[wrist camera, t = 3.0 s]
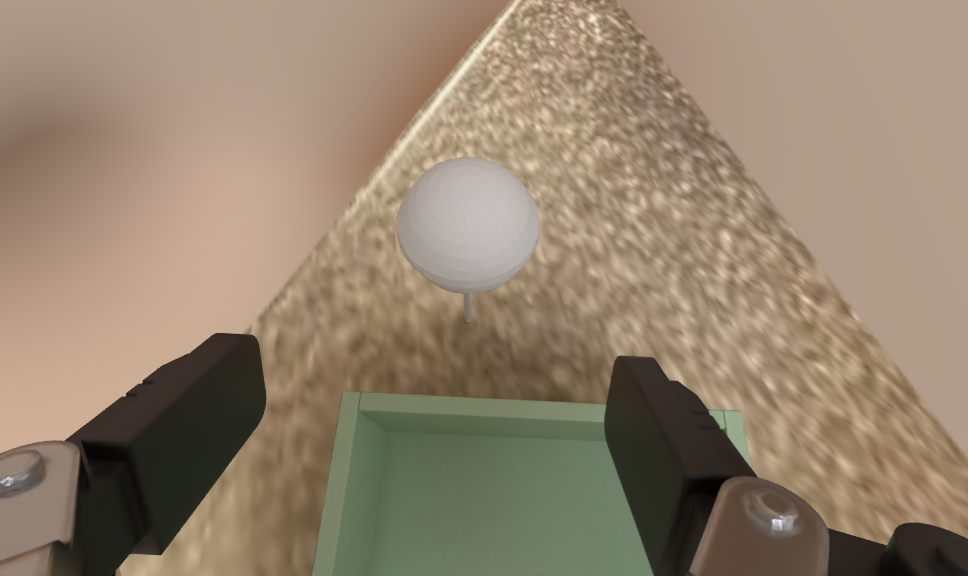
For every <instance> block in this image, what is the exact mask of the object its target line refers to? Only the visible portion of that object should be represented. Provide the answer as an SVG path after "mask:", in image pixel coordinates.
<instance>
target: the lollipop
mask: <svg viewBox="0 0 968 576" xmlns="http://www.w3.org/2000/svg"><path fill="white" fill-rule="evenodd" d="M539 224H540V221H539V213H538V209H537V207H536V204H535V201H534V199H533V198H532V196H531V195H530V193H529V192H528V190H527V189H526V188H525V187H524V186H523V184H522V183H521V182H520V181H519V180H518V179H517V178H516V177H515V176H514V175H513V174H512V173H511V172H510V171H509V170H507V169H506V168H504V167H503V166H501V165H499V164H497V163H495V162H492V161H489V160H486V159H482V158H475V157H460V158H455V159H450V160H447V161H444V162H441V163H439V164H437V165H435V166H433V167H432V168H430V169H429V170H427V171H426V172H425V173H424V174H423V175H421V177H420V178H419V179H418V180H417V181H416V182H415V184H414V185H413V186H412V188H411V189H410V190H409V192H408V193H407V194H406V196H405V198H404V199H403V201H402V203H401V205H400V208H399V212H398V216H397V236H398V240H399V244H400V248H401V250H402V252H403V254H404V256H405V258H406V259H407V260H408V262H409V263H410V264H411V265H412V266H413V268H414V269H416V270H417V271H418V272H419V273H420V274H421V275H423V276H424V277H425V278H426V279H427V280H429V281H430V282H431V283H433V284H435V285H437V286H438V287H440V288H442V289H445V290H448V291H451V292H455V293H462V294H464V308H465V322H466V323H470V322H471V315H472V294H476V293H482V292H486V291H490V290H492V289H495V288H497V287H499V286H501V285H502V284H504V283H505V282H507V281H508V280H510V279H511V278H512V277H514V276H515V275H516V274H517V273H518V271H519V270H520V269H521V268H522V267H523V266H524V265H525V264H526V263H527V262H528V260H529V258H530V257H531V255H532V254H533V252H534V250H535V247H536V244H537V242H538V234H539Z"/></svg>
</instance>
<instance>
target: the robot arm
mask: <svg viewBox="0 0 968 576" xmlns="http://www.w3.org/2000/svg"><path fill="white" fill-rule="evenodd" d="M265 406H266V390H265V383H264V376H263V369H262V362H261V355H260V348H259V343H258V340H257V338H256V337H255V336H253V335H247V334H228V333H216V334H214V335H212V336H211V337H210V338H208V339H207V340H206V341H204V342H203V343H202V344H201V345H200V346H198V347H197V348H196V349H194V350H193V351H192V352H191V353H189V354H186V355H184V356H182V357H180V358H178V359H175V360H173V361H171V362H169V363H167V364H165V365H163V366H161V367H160V368H158V369H157V370H156V371H154V372H153V373H152V374H151V375H149V376H148V377H147V378H145V379H144V380H143V383H142V384H138V385H136V386H135V387H134V388H132V389H131V390H130V391H128V392H127V393H126V396H125V397H121V398H119V399H118V400H117V401H115V402H114V403H113V404H112V405H110V406H109V407H108V408H106V409H105V410H104V411H102V412H101V413H100V414H99V415H97V416H96V417H95V418H93V419H92V420H91V421H89V423H87V424H86V425H84V426H83V427H82V428H80V429H79V430H78V431H76V432H75V433H74V434H73V435H71V436H70V437H69V438H67V439H66V440H65V441H54V440H53V441H43V442H37V443H32V444H28V445H23V446H20V447H17V448H13V449H11V450H8V451H6V452H3V453H0V576H122V575H121V572H120V570H119V566H120V565H121V564H122V563H123V562H124V560H125V559H126V558H127V557H128V555H129V554H148V555H162V553H163V552H164V551H165V549H166V548H167V547H168V545H169V544H170V543H171V541H172V540H173V539H174V537H175V536H176V535H177V533H178V532H179V531H180V529H181V528H182V527H183V525H184V524H185V523H186V521H187V520H188V519H189V517H190V516H191V515H192V513H193V512H194V510H195V509H196V508H197V506H198V505H199V504H200V502H201V501H202V500H203V498H204V497H205V496H206V494H207V493H208V492H209V490H210V489H211V488H212V486H213V485H214V484H215V482H216V481H217V480H218V478H219V477H220V476H221V474H222V473H223V471H224V470H225V469H226V467H227V466H228V465H229V463H230V462H231V461H232V459H233V458H234V457H235V455H236V454H237V453H238V451H239V450H240V449H241V447H242V446H243V445H244V443H245V442H246V441H247V439H248V438H249V437H250V435H251V434H252V432H253V431H254V430H255V428H256V427H257V426H258V424H259V423H260V421H261V419H262V417H263V414H264V411H265ZM604 432H605V439H606V443H607V446H608V448H609V451H610V454H611V457H612V460H613V463H614V465H615V468H616V471H617V474H618V477H619V479H620V482H621V485H622V488H623V491H624V493H625V496H626V499H627V502H628V505H629V507H630V510H631V513H632V516H633V519H634V521H635V524H636V527H637V530H638V533H639V536H640V538H641V541H642V544H643V547H644V550H645V552H646V555H647V558H648V561H649V564H650V566H651V569H652V572H653V575H654V576H968V539H967V538H965V537H963V536H961V535H958V534H956V533H953V532H951V531H949V530H946V529H943V528H940V527H936V526H933V525H929V524H923V523H905V524H902V525H900V526H898V527H897V528H896V529H895V531H894V533H893V535H892V537H891V539H890V541H889V543H888V545H884V544H880V543H877V542H873V541H870V540H866V539H863V538H860V537H856V536H853V535H849V534H846V533H842V532H839V531H836V530H832V529H829V528H827V526H826V524H825V523H824V521H823V519H822V518H821V517H820V515H819V514H818V513H817V512H816V511H815V510H814V509H813V508H812V507H811V506H810V505H809V504H808V503H807V502H806V501H805V500H803V499H802V498H800V497H799V496H798V495H796V494H795V493H793V492H791V491H790V490H788V489H786V488H784V487H782V486H780V485H778V484H775V483H773V482H770V481H767V480H764V479H761V478H758V477H757V475H756V474H755V473H754V471H753V470H752V469H751V467H750V466H749V465H748V463H747V462H746V461H745V459H744V458H743V456H742V455H741V454H740V452H739V451H738V450H737V448H736V447H735V446H734V444H733V443H732V442H731V440H730V439H729V438H728V436H727V435H726V433H725V432H724V431H723V430H720V425H719V424H718V423H717V421H716V420H715V419H714V417H713V416H712V415H710V412H709V410H708V409H707V408H706V406H705V405H704V404H703V402H702V401H701V400H700V398H699V397H698V396H697V395H696V394H695V393H693V392H692V391H691V390H689V389H688V388H686V387H685V386H684V385H682V384H681V383H680V382H678V381H669V379H668V378H667V376H666V375H665V373H664V372H663V370H662V369H661V367H660V366H659V365H658V363H657V362H656V360H655V359H654V358H652V357H636V356H618V357H617V358H616V360H615V362H614V366H613V371H612V377H611V382H610V388H609V393H608V399H607V404H606V410H605V416H604Z"/></svg>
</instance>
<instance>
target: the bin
mask: <svg viewBox="0 0 968 576" xmlns="http://www.w3.org/2000/svg"><path fill="white" fill-rule="evenodd" d="M605 410H606V404H593V403H573V402H553V401H533V400H514V399H494V398H474V397H454V396H435V395H415V394H395V393H375V392H355V391H343V393H342V398H341V404H340V410H339V416H338V422H337V428H336V434H335V439H334V445H333V451H332V457H331V463H330V469H329V475H328V481H327V487H326V492H325V498H324V504H323V510H322V516H321V522H320V528H319V534H318V540H317V545H316V551H315V557H314V563H313V569H312V575H311V576H654V575H653V572H652V569H651V566H650V564H649V561H648V558H647V555H646V552H645V550H644V547H643V544H642V541H641V538H640V536H639V533H638V530H637V527H636V524H635V521H634V519H633V516H632V513H631V510H630V507H629V505H628V502H627V499H626V496H625V493H624V491H623V488H622V485H621V482H620V479H619V477H618V474H617V471H616V468H615V465H614V463H613V460H612V457H611V454H610V451H609V448H608V446H607V443H606V439H605V432H604V416H605ZM708 410H709V412H710V415H712V416H713V417H714V419H715V420H716V421H717V423H718V424H719V425H720V430H723V431H724V432H725V433H726V435H727V436H728V438H729V439H730V440H731V442H732V443H733V444H734V446H735V447H736V448H737V450H738V451H739V452H740V454H741V455H742V456H743V458H744V459H745V461H746V462H747V463H748V465H749V466H750V467H751V464H750V459H749V453H748V448H747V442H746V437H745V431H744V426H743V420H742V415H741V411H733V410H711V409H708Z"/></svg>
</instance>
